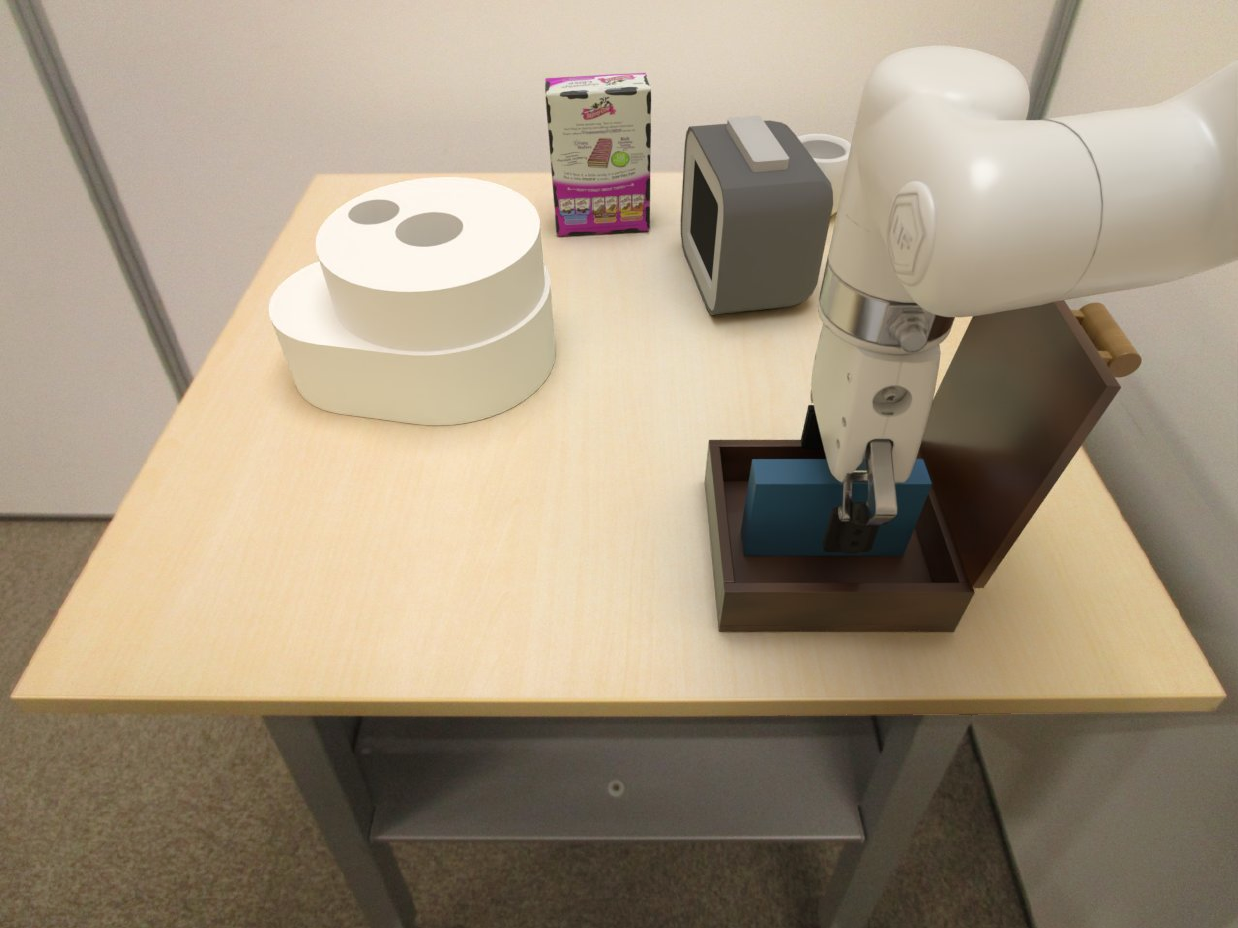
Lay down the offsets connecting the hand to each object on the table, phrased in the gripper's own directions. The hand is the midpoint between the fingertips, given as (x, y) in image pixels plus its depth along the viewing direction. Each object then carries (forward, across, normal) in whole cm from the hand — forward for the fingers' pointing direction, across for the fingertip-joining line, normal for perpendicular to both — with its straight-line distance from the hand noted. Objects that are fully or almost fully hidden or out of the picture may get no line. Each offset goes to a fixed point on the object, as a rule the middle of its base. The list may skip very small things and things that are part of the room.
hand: (832, 494), depth 58 cm
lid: (-8, 0, -9) cm, 12 cm away
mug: (+7, +51, -8) cm, 52 cm away
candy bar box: (+7, +49, +18) cm, 52 cm away
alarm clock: (+7, +38, +2) cm, 38 cm away
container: (+7, +23, +34) cm, 42 cm away
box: (+6, 0, 0) cm, 6 cm away
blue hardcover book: (+5, 0, 0) cm, 5 cm away
